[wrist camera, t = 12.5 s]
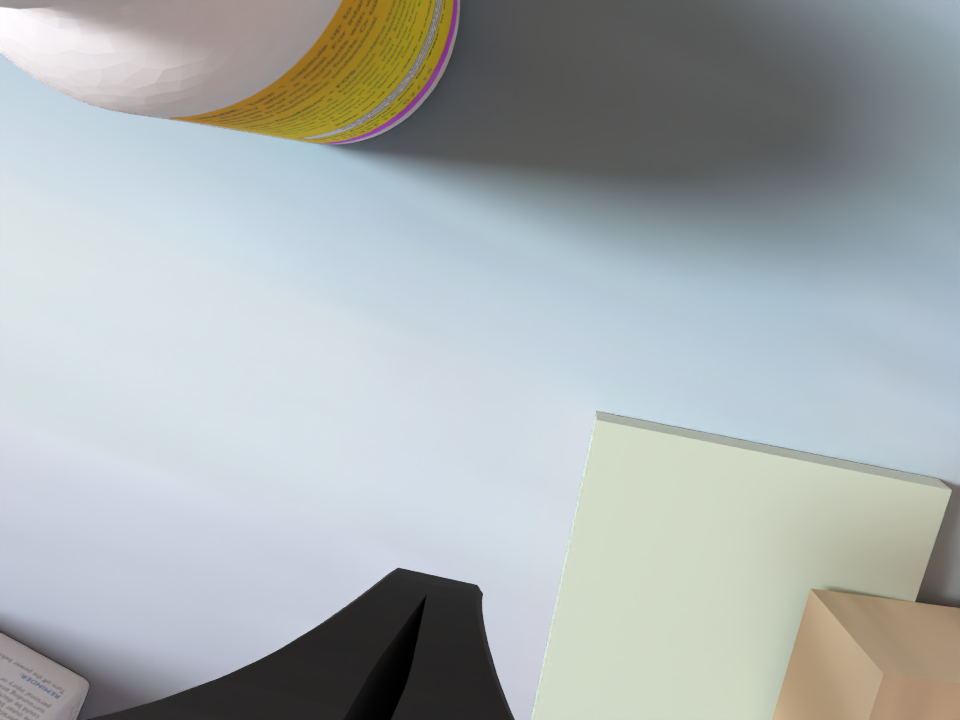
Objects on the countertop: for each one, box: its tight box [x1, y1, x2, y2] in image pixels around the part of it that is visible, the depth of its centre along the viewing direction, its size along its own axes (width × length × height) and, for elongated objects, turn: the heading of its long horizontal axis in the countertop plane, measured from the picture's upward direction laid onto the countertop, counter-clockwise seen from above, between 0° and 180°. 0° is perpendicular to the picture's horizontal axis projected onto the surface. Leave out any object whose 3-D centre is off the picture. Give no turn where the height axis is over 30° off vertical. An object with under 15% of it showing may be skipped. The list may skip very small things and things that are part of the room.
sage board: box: [531, 411, 952, 720], centre depth 22 cm, size 13×9×1 cm
